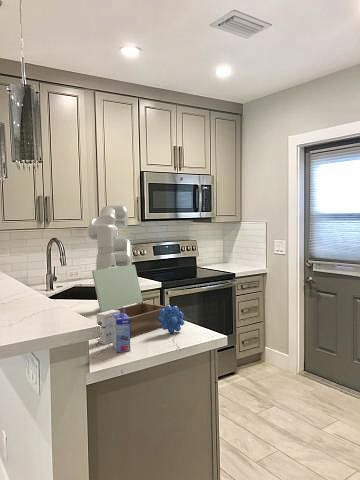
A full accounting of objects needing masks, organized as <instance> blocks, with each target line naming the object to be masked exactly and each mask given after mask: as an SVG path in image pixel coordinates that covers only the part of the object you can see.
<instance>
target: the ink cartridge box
mask: <svg viewBox="0 0 360 480" xmlns="http://www.w3.org/2000/svg"><path fill="white" fill-rule="evenodd" d="M123 311H124V313H123ZM123 311H122V313H121V314H113V342H112V346H113V348H114V350H115V353H123V352H126V353H127V352H131V337H130V318H129V317H128V316H127V315H126V313H125V309H123Z"/></svg>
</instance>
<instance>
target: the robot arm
mask: <svg viewBox="0 0 360 480" xmlns="http://www.w3.org/2000/svg"><path fill="white" fill-rule="evenodd" d="M89 222H90V223H89V225H88V229H87V231H88V232H87V233H88V236H89V237H88V238H89V239H91V240H94V241H97V254H96V261H95V263H96V264H95V267H96V268H95V270H100V269H107V268H109V267H111V268H112V267H116V266H118V267H121V266H128V265H133V263H132V262H133V255H132V253H133V251H132V243H131V241H130V240H129V238H124V237H123V238H122V237H121V238H118V237H119V236H118V235H119V229H125V228H126V227H128V225H129V215H128V210H127V208H126V207H125V206H124V205H120V204H119V205H105V206H103V207H102V208H101V209H100V214H99V216H97V217H95V218H93V219H92V220H90V221H89ZM123 307H124V306H123ZM123 307H119V308H123ZM119 308H115V309H119ZM115 309H111V310H115ZM106 311H109V310H106ZM106 311H102V312H106ZM99 312H100V308H99ZM102 312H101V313H102Z"/></svg>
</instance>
